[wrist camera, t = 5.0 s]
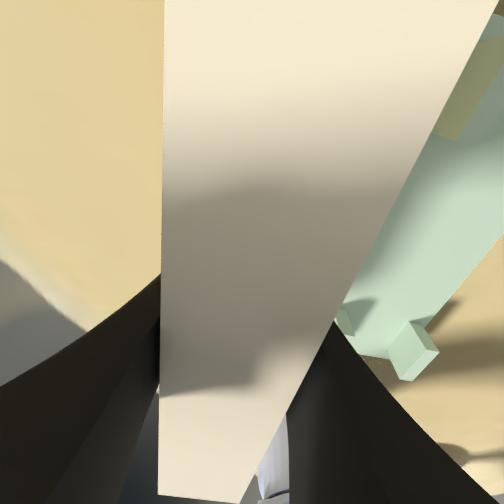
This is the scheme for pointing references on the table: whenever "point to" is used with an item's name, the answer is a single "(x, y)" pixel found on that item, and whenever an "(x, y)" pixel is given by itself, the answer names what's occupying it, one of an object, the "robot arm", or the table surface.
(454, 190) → the strip rack
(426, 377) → the table surface
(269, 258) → the clay strip
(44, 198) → the table surface
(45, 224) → the table surface
